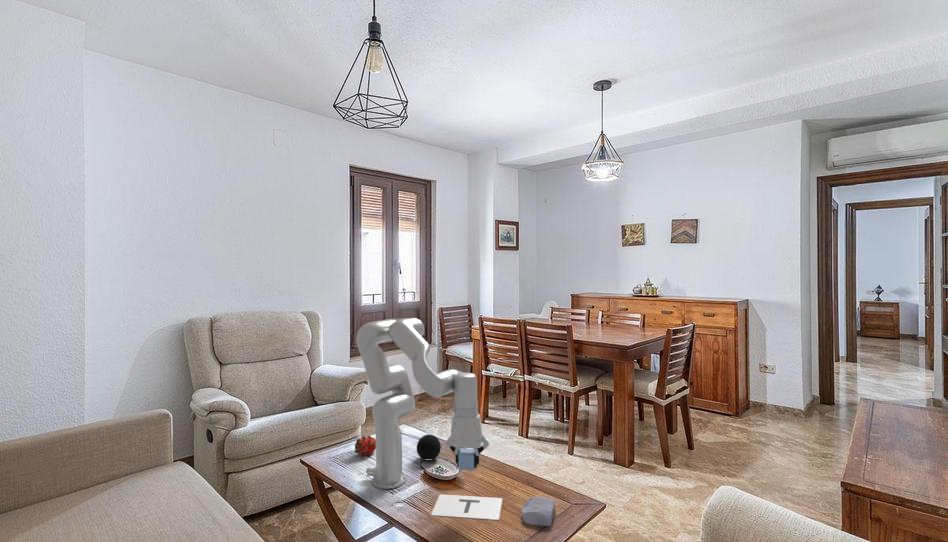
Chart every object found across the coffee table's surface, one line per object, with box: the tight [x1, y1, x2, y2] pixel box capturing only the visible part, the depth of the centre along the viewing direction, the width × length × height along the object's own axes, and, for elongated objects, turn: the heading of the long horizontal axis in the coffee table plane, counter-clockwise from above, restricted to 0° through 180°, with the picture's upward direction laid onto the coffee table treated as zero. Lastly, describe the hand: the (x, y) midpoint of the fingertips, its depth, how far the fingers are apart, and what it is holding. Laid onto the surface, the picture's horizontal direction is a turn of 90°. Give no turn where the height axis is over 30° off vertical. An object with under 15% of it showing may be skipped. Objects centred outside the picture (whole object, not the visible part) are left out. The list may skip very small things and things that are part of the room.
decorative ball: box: [416, 434, 442, 461], centre depth 186 cm, size 10×10×10 cm
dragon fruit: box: [354, 435, 376, 458], centre depth 192 cm, size 8×8×12 cm
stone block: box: [521, 496, 556, 527], centre depth 144 cm, size 12×5×10 cm
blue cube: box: [458, 448, 476, 471], centre depth 149 cm, size 5×5×5 cm
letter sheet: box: [430, 493, 503, 521], centre depth 149 cm, size 22×13×1 cm, turn 81°
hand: (467, 465), depth 149 cm, fingers closed on blue cube, 5 cm apart
